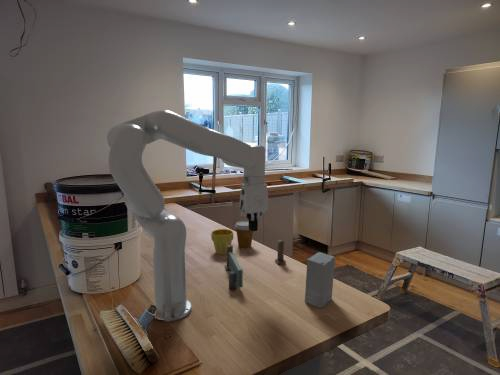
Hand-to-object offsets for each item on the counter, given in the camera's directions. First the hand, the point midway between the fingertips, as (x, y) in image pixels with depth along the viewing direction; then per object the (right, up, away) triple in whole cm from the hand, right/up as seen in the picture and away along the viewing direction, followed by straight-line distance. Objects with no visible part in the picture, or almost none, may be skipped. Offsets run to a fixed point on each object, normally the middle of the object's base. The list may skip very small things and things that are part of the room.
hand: (253, 230), depth 118 cm
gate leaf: (-7, -19, +6) cm, 21 cm away
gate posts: (+3, -19, +12) cm, 23 cm away
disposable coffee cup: (-4, -14, +43) cm, 46 cm away
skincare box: (+22, -23, -9) cm, 33 cm away
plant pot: (-14, -15, +36) cm, 42 cm away
